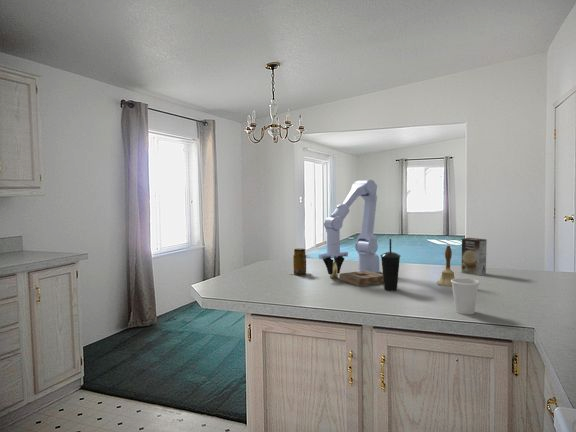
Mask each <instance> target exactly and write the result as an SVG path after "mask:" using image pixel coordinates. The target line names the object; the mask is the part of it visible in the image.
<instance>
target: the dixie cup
mask: <svg viewBox="0 0 576 432" xmlns="http://www.w3.org/2000/svg"><path fill="white" fill-rule="evenodd" d="M451 282H452V286H451V287H452V296H453V303H454V304H453V305H454V311H455V313H458V314H461V315H473V314H475V311H476V304H477V298H478V297H477V296H478V291H479V290H478V289H479V285H480V281H479V280H477V279H474V278H463V277H459V278H456V277H455V279H452V280H451Z"/></svg>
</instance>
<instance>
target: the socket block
mask: <svg viewBox="0 0 576 432" xmlns="http://www.w3.org/2000/svg"><path fill="white" fill-rule="evenodd" d="M356 271H357V272H355V271H352V272H351V271H350V272H343V273H339V281H341V282H344V283H346V284H349V285H350V284H351V285H353V286H357V287H365V286H372V285H378V284H384V280H383V273H382V274H381V273H373V272H369V271H359V270H356Z"/></svg>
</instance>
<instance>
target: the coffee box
mask: <svg viewBox="0 0 576 432" xmlns="http://www.w3.org/2000/svg"><path fill="white" fill-rule="evenodd" d="M487 242H488V241H487V239H486V238H476V237H466V238H461V267H460V268H461V273H462V274H468V275H473V276H474V275H475V276H482V275H486V274H487V244H488V243H487Z"/></svg>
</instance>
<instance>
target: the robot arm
mask: <svg viewBox="0 0 576 432" xmlns="http://www.w3.org/2000/svg"><path fill="white" fill-rule="evenodd" d="M377 189H378V184H376V182H375V181H374V180H373V179H361V180H355V181H354V182H353V184H352V185H351V189H350V191H349V192H348V194H347V196H346V197H345V199H344V200H343V203H340V204H337V205H336V208H335V209H334V211H333V212H332V213H331V214H330V216H329V217H326V219H325V220H324V223H323V225H324V228H325V232H326V253H321V254H318V259H319V260H322V261H323V263H324V265H325V267H326V271H327V274H328V275H330V274H332V264H333V262H338V274H341V273H340V272H341V269H342V268H341V267H342V265H343V263H344V261H345V257H349V252H347V251H341V243H340V241H341V239H340V238H341V236H340V235H341V233H340V231H341V229H342V228H343V226H344V225H343V223H344V220H345V219H346V217H347V215H349V213H350V207H351V206H352V205H353V204H354V202H355V201H356V200H357V199H358V198H359V197H361V198H362V199H363V200H364V204H363V216H362V222H361V223H362V224H361V225H362V226H361V232H360V234H358V236H357V239H356V241H355V245H354V249H355V251H356V252H357V254H358V270H355V271H354V272H357V271H369V272H373V273H377V274H381V272H382V271H380V257H379V256H380V255H379V254H377V252H378V242H377V241H378V238H377V237H376V236H375V234H374V230H375V219H376V218H375V217H376V210H377V203H378V202H377V200H378V198H377V197H378V196H377V191H378V190H377Z"/></svg>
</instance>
